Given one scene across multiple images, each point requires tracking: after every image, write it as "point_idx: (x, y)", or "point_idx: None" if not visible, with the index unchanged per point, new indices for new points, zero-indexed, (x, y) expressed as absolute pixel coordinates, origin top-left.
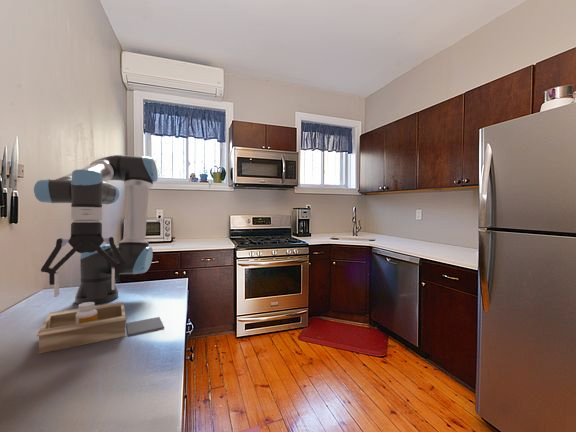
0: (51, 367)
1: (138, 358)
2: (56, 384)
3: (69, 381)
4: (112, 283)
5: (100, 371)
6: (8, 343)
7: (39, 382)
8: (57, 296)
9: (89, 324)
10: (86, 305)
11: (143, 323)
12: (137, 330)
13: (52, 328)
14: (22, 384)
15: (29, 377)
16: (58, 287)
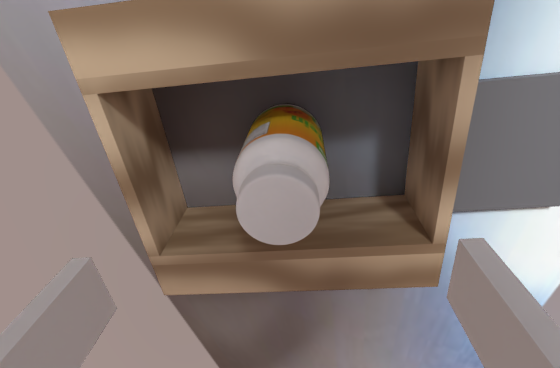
0: (242, 293)
1: (418, 331)
2: (273, 348)
3: (292, 348)
4: (481, 350)
5: (342, 342)
6: (23, 81)
7: (241, 332)
8: (115, 309)
9: (308, 277)
10: (282, 241)
11: (506, 131)
12: (461, 195)
13: (188, 260)
14: (214, 326)
15: (215, 311)
16: (66, 340)
